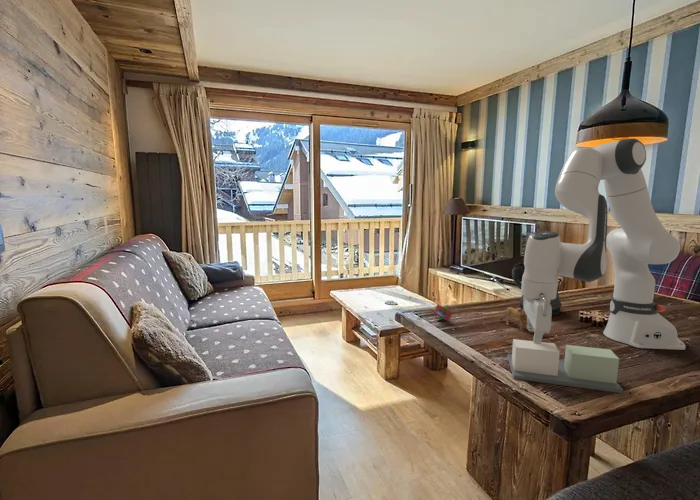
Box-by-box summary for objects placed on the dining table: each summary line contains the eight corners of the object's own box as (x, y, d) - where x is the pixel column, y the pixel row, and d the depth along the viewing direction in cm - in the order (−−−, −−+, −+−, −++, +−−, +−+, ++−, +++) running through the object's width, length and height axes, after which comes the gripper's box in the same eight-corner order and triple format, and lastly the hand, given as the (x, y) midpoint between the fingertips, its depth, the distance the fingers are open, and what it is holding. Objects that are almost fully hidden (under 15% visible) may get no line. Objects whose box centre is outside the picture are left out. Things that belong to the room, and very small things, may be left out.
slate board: (602, 368, 107) (603, 365, 107) (622, 393, 94) (623, 389, 94) (507, 356, 114) (507, 353, 114) (513, 378, 101) (513, 375, 101)
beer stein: (569, 314, 154) (575, 256, 151) (529, 317, 150) (534, 258, 146) (541, 303, 170) (546, 250, 166) (505, 305, 166) (509, 251, 162)
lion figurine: (538, 330, 136) (540, 307, 135) (530, 333, 133) (532, 310, 132) (503, 319, 148) (504, 298, 147) (495, 322, 145) (496, 300, 144)
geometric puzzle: (458, 315, 146) (448, 298, 148) (452, 320, 141) (441, 302, 143) (444, 323, 150) (434, 306, 152) (438, 327, 145) (427, 310, 147)
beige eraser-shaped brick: (552, 366, 106) (554, 343, 105) (557, 375, 101) (559, 352, 100) (511, 361, 109) (513, 339, 108) (514, 370, 104) (516, 347, 103)
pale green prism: (607, 373, 102) (610, 349, 101) (616, 383, 97) (619, 358, 96) (563, 367, 105) (566, 344, 104) (569, 377, 100) (572, 353, 99)
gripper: (560, 301, 91) (554, 353, 93) (543, 282, 110) (539, 325, 112) (532, 298, 93) (527, 349, 95) (521, 280, 112) (516, 323, 114)
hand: (533, 336), depth 104 cm, fingers open, 8 cm apart
